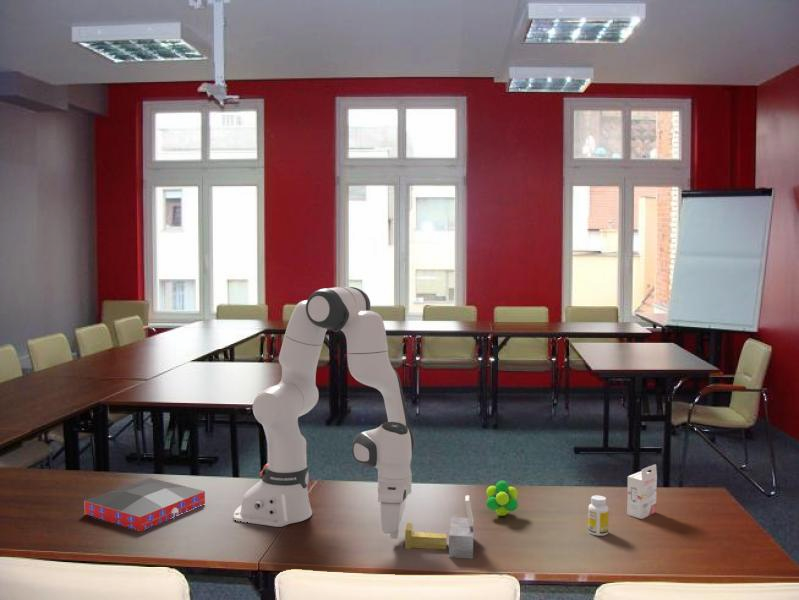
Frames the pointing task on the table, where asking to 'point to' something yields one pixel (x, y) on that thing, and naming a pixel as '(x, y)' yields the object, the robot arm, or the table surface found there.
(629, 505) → the ink cartridge box
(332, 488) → the table surface
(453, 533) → the block
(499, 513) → the molecule model
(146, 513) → the building model
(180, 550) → the table surface
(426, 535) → the lynch pin
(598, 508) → the supplement bottle
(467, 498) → the bar
